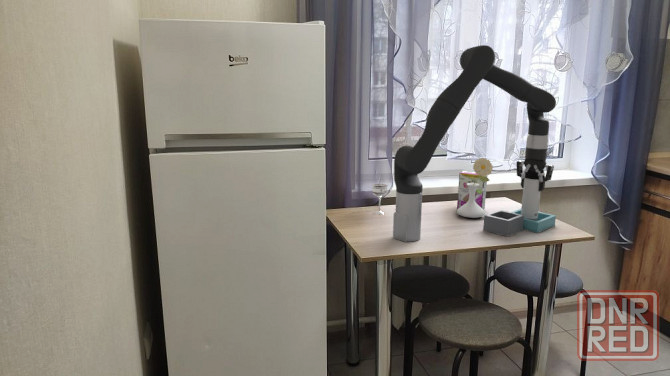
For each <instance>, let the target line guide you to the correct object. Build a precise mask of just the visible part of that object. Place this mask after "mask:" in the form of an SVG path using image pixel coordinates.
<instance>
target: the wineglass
mask: <svg viewBox="0 0 670 376" xmlns="http://www.w3.org/2000/svg"><path fill="white" fill-rule="evenodd" d="M371 186H372V189H371V192H372V194H373V196H375V197H376V198H378V210H376V211H374V212H373V214H375V215H384V213H385V214H386V212H385V211H382V210H381V200H382V198H384V197H385V196H386V195H388V193H389V188H388V184H385V183H374V184H372V185H371Z"/></svg>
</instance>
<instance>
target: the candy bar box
mask: <svg viewBox="0 0 670 376" xmlns="http://www.w3.org/2000/svg"><path fill="white" fill-rule="evenodd" d="M468 176H469V177H470V178H473V179H475V181H476V180H477V179H478V177H479V175H478V174H476V173H475V171H470V170H469V171H467V170H462V171H460V172H459V176H458V190H457V202H456V209H459V208H460V207H461V206H462V205H464V204H466V203H467V202H468V200H469V188H468V186H467V183H475V181H474V180H471V179H469V178H468ZM480 177H481V175H480ZM480 177H479V178H480ZM486 177H487V178H488V175H486ZM476 183H477V184H479V186H478V187H477V189H476V192H475V202H476V203H477V204H478V205H479V206H480V207H481V208H482V209H483V210H484V211H485V208H486V198H487V197H486V196H487V184H488V181H487V182H482V181H481V180H480V179H478V180H477V181H476Z"/></svg>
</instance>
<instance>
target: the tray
mask: <svg viewBox="0 0 670 376" xmlns="http://www.w3.org/2000/svg"><path fill="white" fill-rule="evenodd" d="M511 212H512V213H516V214H520V215H521V208H519V209H516V210H513V211H511ZM556 219H557V215H554V214H550V213H545V212H540V211H538V220H537V221H533V220H529V219H525V218H524V222H523V230H524V231H529V232H532V233H536V234H538V233H541V232H542V231H545V230H548V229H551V228H552V227H554V226H556Z"/></svg>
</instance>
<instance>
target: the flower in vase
mask: <svg viewBox="0 0 670 376" xmlns="http://www.w3.org/2000/svg"><path fill="white" fill-rule="evenodd" d="M472 169H473V172H475V173H476V174H478V175H479V177H480V175H481V177H480V178H479V177H478V179H480V180H481V181H482V182H487V183H488V182H489V181H491V180H490V179H489V177H488V176H490V175H491V174H492V172H493V169H494V166H493V165H492V162H491V160H490V159H487V158H484V157H481V158H478V159H476V160H474V164H473V166H472ZM486 175H487V177H486ZM468 178H469V179H471V180H474V181H475V179H473V178H470V177H469V176H468ZM478 179H477V180H478ZM477 180H476V181H477ZM476 181H475V183H467V186H468V188H469V200H468V202H467V203H466V204H464V205H462V206H461V207H460V208H457V210H456V213H457V214H458V215H460V216H461V217H464V218H470V219H476V218H477V219H479V218H482V217H484V215H486V212H485V209H484V210H483V209H482V208H481V207H480V206H479V205H478V204H477V203H476V202H475V192H476V189H477V187H478V186H479V184H477V183H476Z"/></svg>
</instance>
